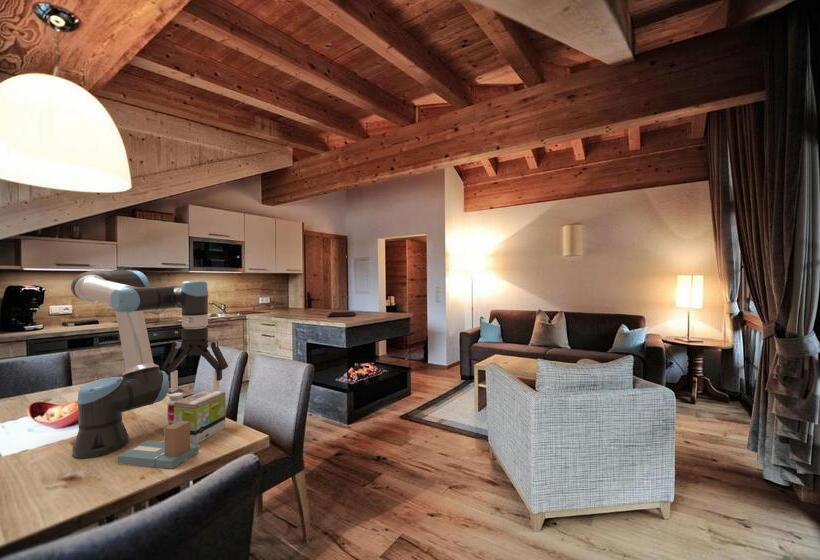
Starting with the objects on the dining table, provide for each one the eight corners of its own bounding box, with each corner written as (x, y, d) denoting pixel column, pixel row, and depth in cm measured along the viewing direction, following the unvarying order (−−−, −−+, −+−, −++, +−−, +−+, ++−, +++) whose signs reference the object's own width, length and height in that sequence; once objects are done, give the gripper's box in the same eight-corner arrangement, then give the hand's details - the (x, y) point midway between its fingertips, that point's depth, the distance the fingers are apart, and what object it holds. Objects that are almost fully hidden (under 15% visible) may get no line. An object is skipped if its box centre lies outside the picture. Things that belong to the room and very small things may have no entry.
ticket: (117, 463, 118) (117, 455, 118) (147, 447, 129) (147, 440, 128) (154, 467, 115) (154, 459, 115) (182, 450, 126) (182, 443, 126)
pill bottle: (164, 422, 151) (164, 395, 150) (180, 416, 156) (179, 391, 156) (173, 425, 148) (172, 397, 147) (188, 419, 153) (188, 393, 153)
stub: (155, 466, 115) (154, 431, 115) (183, 450, 126) (182, 417, 126) (172, 468, 114) (171, 432, 114) (198, 451, 125) (198, 418, 125)
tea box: (197, 445, 130) (196, 404, 130) (173, 443, 132) (172, 402, 132) (226, 427, 145) (225, 390, 144) (204, 426, 147) (203, 389, 146)
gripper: (148, 329, 118) (149, 394, 118) (228, 328, 119) (229, 393, 120) (162, 325, 125) (163, 387, 126) (238, 325, 127) (238, 386, 128)
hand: (195, 390), depth 123 cm, fingers open, 13 cm apart
